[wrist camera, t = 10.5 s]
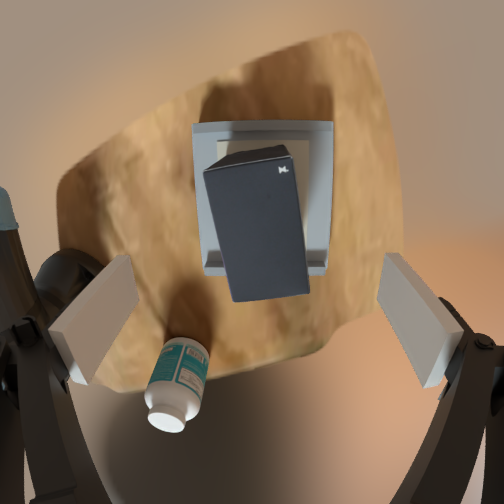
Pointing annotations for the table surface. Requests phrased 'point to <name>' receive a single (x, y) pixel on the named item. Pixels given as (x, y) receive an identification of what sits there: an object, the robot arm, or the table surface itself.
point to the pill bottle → (177, 384)
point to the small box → (259, 223)
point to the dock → (307, 173)
